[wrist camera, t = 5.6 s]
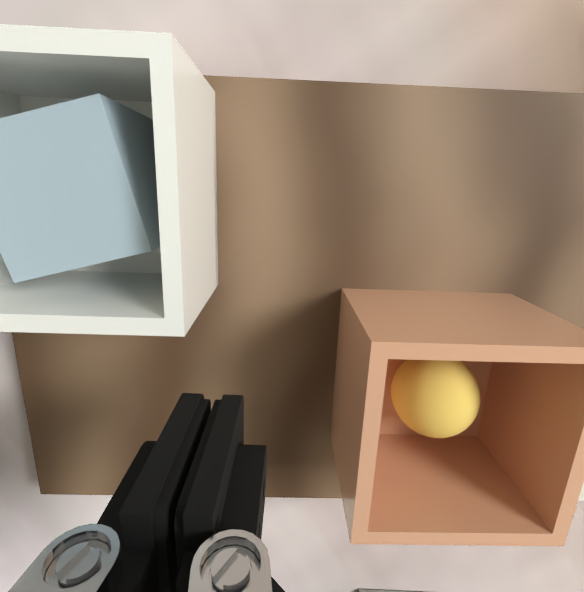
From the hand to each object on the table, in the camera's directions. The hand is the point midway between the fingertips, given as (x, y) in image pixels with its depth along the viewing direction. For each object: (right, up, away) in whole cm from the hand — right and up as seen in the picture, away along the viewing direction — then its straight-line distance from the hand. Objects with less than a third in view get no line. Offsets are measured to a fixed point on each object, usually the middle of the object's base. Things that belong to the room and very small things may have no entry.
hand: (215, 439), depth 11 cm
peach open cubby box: (+8, +1, +6) cm, 10 cm away
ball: (+8, +1, +6) cm, 9 cm away
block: (-4, +8, +3) cm, 9 cm away
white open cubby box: (-4, +8, +4) cm, 10 cm away
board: (+8, +3, +7) cm, 10 cm away
